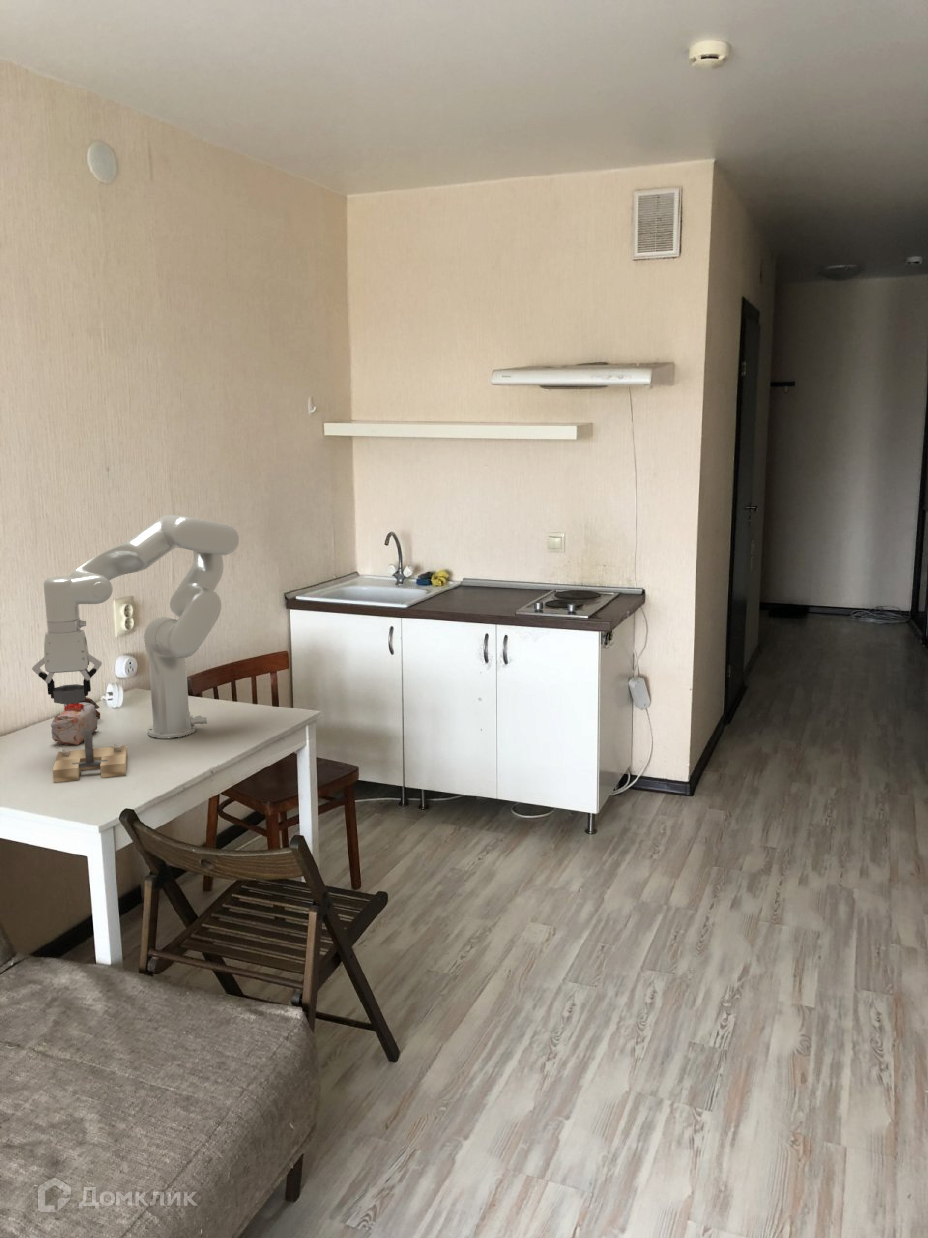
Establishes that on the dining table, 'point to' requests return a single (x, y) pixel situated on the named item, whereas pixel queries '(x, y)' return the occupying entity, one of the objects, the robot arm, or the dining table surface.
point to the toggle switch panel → (90, 760)
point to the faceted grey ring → (69, 694)
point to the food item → (74, 723)
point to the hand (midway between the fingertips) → (69, 695)
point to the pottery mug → (92, 704)
